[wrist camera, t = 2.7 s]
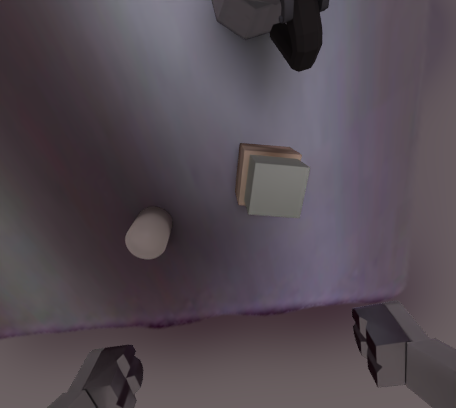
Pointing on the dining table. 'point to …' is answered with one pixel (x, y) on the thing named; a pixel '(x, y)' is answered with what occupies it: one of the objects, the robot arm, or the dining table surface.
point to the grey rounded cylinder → (149, 233)
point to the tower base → (257, 150)
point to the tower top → (275, 186)
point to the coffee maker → (278, 25)
